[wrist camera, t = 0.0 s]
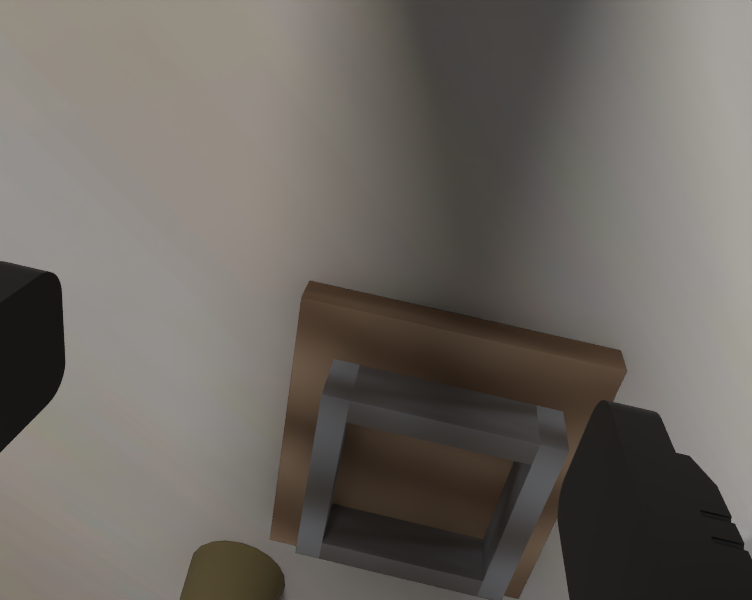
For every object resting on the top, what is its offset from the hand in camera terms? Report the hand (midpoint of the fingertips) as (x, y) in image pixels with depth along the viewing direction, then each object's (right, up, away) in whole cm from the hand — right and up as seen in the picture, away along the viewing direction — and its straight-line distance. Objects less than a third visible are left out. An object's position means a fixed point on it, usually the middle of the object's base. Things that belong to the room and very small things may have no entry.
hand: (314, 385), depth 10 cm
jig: (+3, -6, +23) cm, 24 cm away
